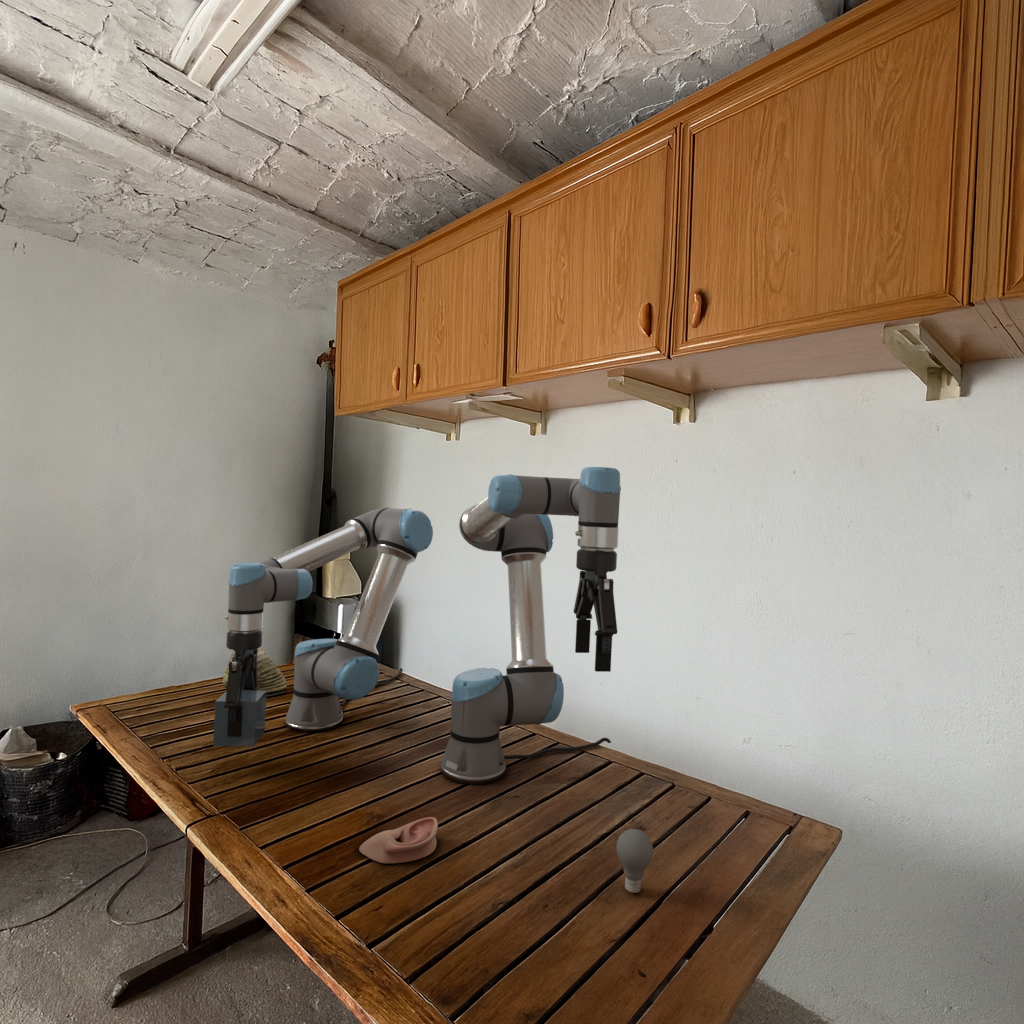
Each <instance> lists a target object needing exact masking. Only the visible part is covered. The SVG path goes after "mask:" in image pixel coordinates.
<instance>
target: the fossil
mask: <svg viewBox="0 0 1024 1024" xmlns="http://www.w3.org/2000/svg"><path fill="white" fill-rule="evenodd" d="M257 649H258V652H257V684H258V686H257V688H255V689H258V690H260V691H266V697H271V696H275V695H281V694H284V693H285V691H286V689H287V687H288V686H287V680H286V678H285V676H284V674H283V673H282V672H281V669H279V668H278V667H277V665H276V663H275V662H274V660H273V659H272V658H271V657H270V656H269V655H268V654H267V653H266V652H265V650H264V649H263V648H261V647H259V648H257ZM234 654H235V651H234V650H233V651H232V653H231V656H230V657H229V659H228V660H227V663H226V666H225V668H224V671H223V675H222V676H223V677H222V685H223V687H224V688H225V690H227V683H228V673H229V665H228V664H229V662H230V661H232V658H233V657H234Z"/></svg>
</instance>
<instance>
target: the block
mask: <svg viewBox="0 0 1024 1024" xmlns="http://www.w3.org/2000/svg"><path fill="white" fill-rule="evenodd" d="M226 692H227V690H226V691H225V692H224V693H223V694H222V695H220V696H219V698H217V699H216V700H215V701H214V721H213V723H214V724H213V744H212V745H213V747H240V748H241V747H243V748H244V747H245V748H246V747H248V748H249V747H250V748H251V747H253V748H254V747H255V746H256V745H257V743H259V741H260V740H261V738H262V737H263V735H264V734H266V733H265V732H266V709H267V696H266V691H260V690H243V694H242V700H241V706H242V723H241V736H240V737H237V736H227V730H228V708H224V705H225V701H226Z"/></svg>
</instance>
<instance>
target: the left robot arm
mask: <svg viewBox="0 0 1024 1024" xmlns="http://www.w3.org/2000/svg"><path fill="white" fill-rule="evenodd" d="M433 537H434V528H433V525H432V521H431V520H430V518H429V516H428V515H427V514H426V513H424V512H423V511H421V510H418V509H413V508H395V507H379V508H377V509H376V508H375V509H373V510H369V511H368V512H366V513H363V514H360V515H358V516H356V517H353V518H351V519H349V520H347V521H346V522H345V524H344V526H342V527H339V528H337V529H335V530H333V531H330V532H328V533H325V534H324V535H321V536H319V537H317V538H314V539H312V540H310V541H308V542H305V543H303V544H300V545H297V546H296V547H294V548H291V549H289V550H286V551H284V552H282V553H280V554H277V555H275V556H273V557H271V558H268V559H265V560H262V561H260V562H251V561H250V562H245V561H244V562H236V563H234V564H232V565H231V567H230V571H229V578H228V584H227V585H228V605H227V607H228V608H227V614H226V615H225V618H224V619H225V620H227V630H228V631H227V632H226V648H227V649H228V650H233V652H234V651H235V654H234V657H233V658H232V661H230V662H229V664H228V665H229V673H228V683H227V689H226V691H227V692H226V691H225V692H226V701H225V705H224V708H228V730H227V736H237V737H240V736H241V723H242V706H241V700H242V694H243V690H258V689H255V688H257V686H258V684H257V652H258V649H257V648H261V647H262V645H263V631H262V629H263V628H264V609H265V608H264V606H265V604H269V603H277V602H279V603H280V602H290V601H291V602H292V601H294V602H297V601H300V600H304V599H307V598H308V597H309V596H310V595H311V593H312V592H313V578H312V575H311V573H310V572H312V571H314V570H316V569H318V568H320V567H323V566H324V565H327V564H330V563H331V562H333V561H335V560H338V559H339V558H342V557H344V556H346V555H348V554H350V553H353V552H355V551H358V552H363V551H365V550H367V549H370V548H376V550H377V552H378V555H377V557H376V560H375V563H374V565H373V567H372V570H371V572H370V575H369V577H368V580H367V582H366V584H365V587H364V589H363V592H362V594H361V597H360V598H359V601H358V604H357V606H356V608H355V611H354V614H353V616H352V618H351V621H350V622H349V623H350V624H349V626H348V628H347V631H346V632H345V635H344V636H341V637H340V638H338V639H337V638H318V639H308V640H304V641H300V642H299V643H297V645H296V646H295V650H294V655H293V657H294V672H293V673H294V674H293V695H292V696H293V697H292V699H291V702H289V705H288V711H287V713H286V715H285V726H286V728H287V729H289V730H291V731H294V732H295V731H296V732H301V733H316V732H325V731H329V730H332V729H335V728H337V727H339V726H340V725H342V723H343V722H344V714H343V709H342V706H344V705H345V704H346V703H347V701H357V700H361V699H363V698H364V697H366V696H368V695H369V694H370V693H372V691H373V690H374V689H375V687H378V686H381V685H384V684H387V683H389V682H392V681H394V680H396V679H398V678H399V677H400V676H401V675H402V672H404V670H403V668H402V667H401V668H399V671H398V673H397V674H396V675H395V676H393V677H390V678H388V679H386V680H383V681H380V682H378V681H379V679H380V673H381V672H380V671H381V670H380V665H379V664H378V663H379V662H377V660H378V657H379V651H378V649H377V644H378V641H379V639H380V636H381V633H382V631H383V629H384V626H385V623H386V621H387V618H388V616H389V614H390V611H391V608H392V606H393V603H394V601H395V598H396V595H397V593H398V591H399V588H400V585H401V582H402V581H403V578H404V575H405V573H406V570H407V567H408V565H410V564H412V563H414V562H416V559H417V557H418V554H419V553H421V552H423V551H425V550H427V549H429V547H430V545H431V543H432V541H433ZM339 698H341V699H342V700H343V701H342V702H340V699H339Z"/></svg>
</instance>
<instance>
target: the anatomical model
mask: <svg viewBox="0 0 1024 1024" xmlns="http://www.w3.org/2000/svg"><path fill="white" fill-rule="evenodd" d="M438 830H439V822H438V819H437V818H436V817H434V816H428V817H423V818H419V819H417V820H414V821H410V822H409V823H407V824H404V825H401V826H398V827H397V828H395V829H388V830H383V831H381V832H378V833H376V834H374V835H372V836H371V837H369V838H368V839H366V840H365V841H364V842H363V843H362V844H361V845H360V846H359V848H358V850H359V852H360V853H361V854H362V855H364V857H366V858H368V859H369V860H372V861H374V862H377V863H380V864H399V863H400V864H401V863H409V862H413V861H417V860H420V859H422V858H426V857H427V856H429V855H431V854H432V853H433V852H435V850H436V847H437V837H436V836H437V834H438Z"/></svg>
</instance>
